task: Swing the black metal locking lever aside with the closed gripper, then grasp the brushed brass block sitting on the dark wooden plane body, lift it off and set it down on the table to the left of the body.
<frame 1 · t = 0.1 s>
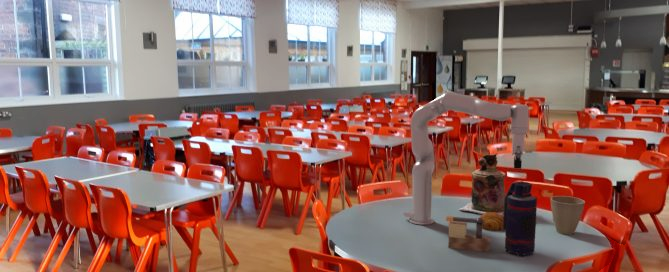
hand: (517, 166, 250), 31 cm above the table, tool pointing down, fingers open, 9 cm apart
lever: (464, 219, 228), point 12 cm above the table, hinge at 0.0°
brushed brass block: (457, 235, 230), point 5 cm above the table, touching plane body
cookie jar: (487, 210, 290), on the table
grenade: (517, 251, 225), on the table
croissant: (493, 227, 260), on the table
plant pot: (565, 232, 251), on the table
plane body: (468, 247, 229), on the table
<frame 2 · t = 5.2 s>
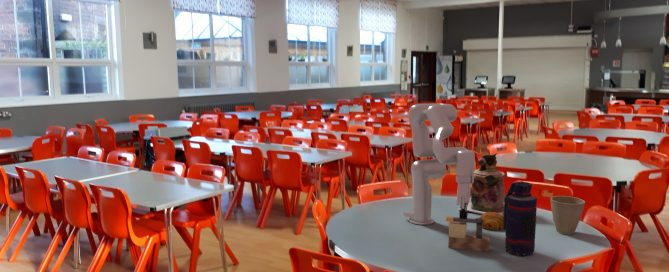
hand: (463, 219, 230), 12 cm above the table, tool pointing down, fingers closed
lever: (464, 220, 228), point 12 cm above the table, hinge at 3.5°, touching gripper
everything else where it was.
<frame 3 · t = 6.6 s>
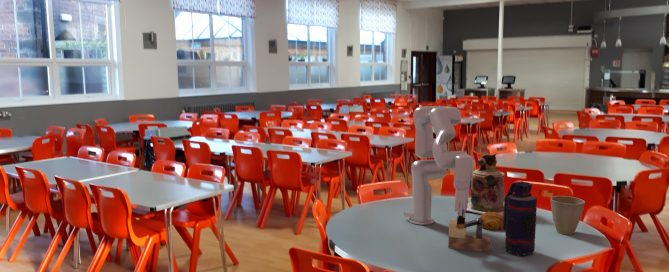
hand: (460, 226, 224), 11 cm above the table, tool pointing down, fingers closed
lever: (470, 223, 222), point 12 cm above the table, hinge at 55.4°, touching gripper
everything else where it was.
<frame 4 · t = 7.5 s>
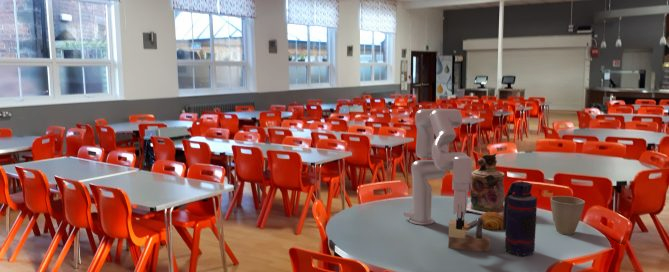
hand: (459, 228, 219), 11 cm above the table, tool pointing down, fingers closed
lever: (473, 224, 221), point 12 cm above the table, hinge at 68.4°, touching gripper
everything else where it was.
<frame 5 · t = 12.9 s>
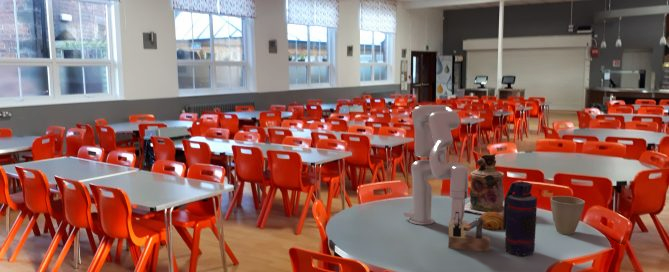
hand: (457, 233, 230), 6 cm above the table, tool pointing down, fingers closed on brushed brass block, 6 cm apart
lever: (473, 224, 221), point 12 cm above the table, hinge at 70.5°
brushed brass block: (457, 235, 230), point 5 cm above the table, touching gripper, plane body
everything else where it was.
when the fingers open (2 cm above the table, at t = 19.0 s): brushed brass block drops 2 cm, on the table.
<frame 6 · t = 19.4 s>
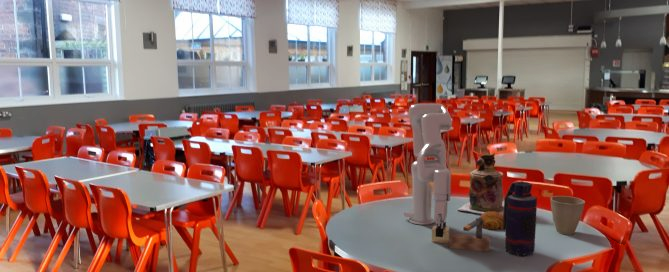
hand: (440, 233, 238), 3 cm above the table, tool pointing down, fingers open, 9 cm apart
brushed brass block: (440, 240, 239), on the table
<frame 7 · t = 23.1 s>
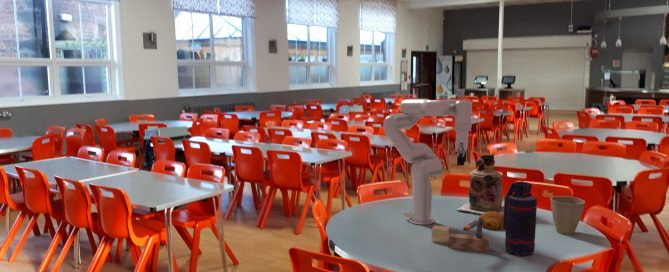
hand: (461, 163, 246), 33 cm above the table, tool pointing down, fingers open, 9 cm apart
at the end: lever at +70° (first picture: +0°); brushed brass block inside the target area (0.1 cm from its centre), on the table; brushed brass block touching table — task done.
